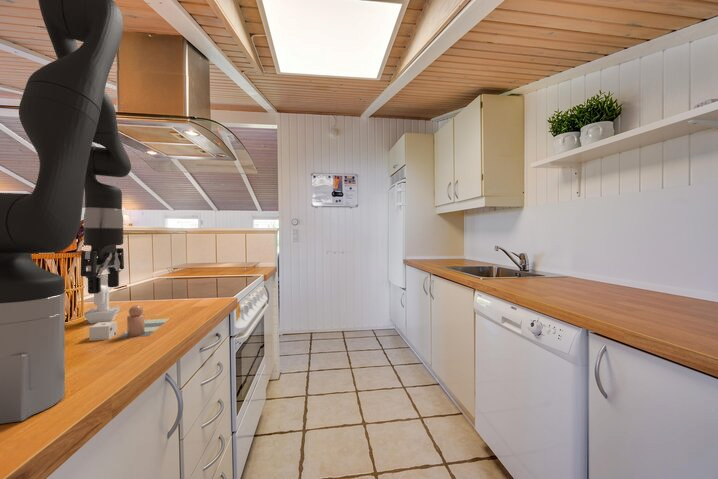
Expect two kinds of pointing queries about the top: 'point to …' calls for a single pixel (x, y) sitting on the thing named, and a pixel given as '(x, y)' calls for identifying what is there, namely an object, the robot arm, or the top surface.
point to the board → (148, 327)
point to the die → (102, 331)
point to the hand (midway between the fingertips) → (104, 289)
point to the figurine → (102, 304)
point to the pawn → (135, 321)
